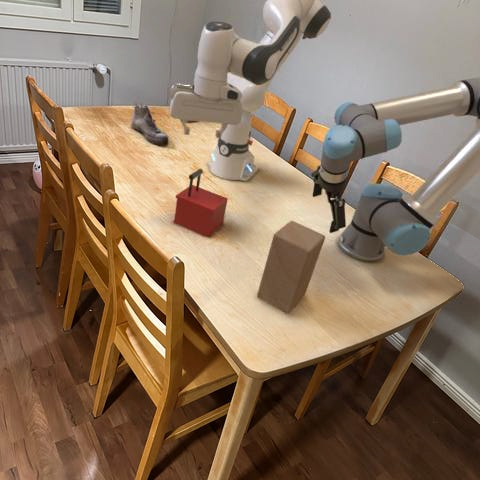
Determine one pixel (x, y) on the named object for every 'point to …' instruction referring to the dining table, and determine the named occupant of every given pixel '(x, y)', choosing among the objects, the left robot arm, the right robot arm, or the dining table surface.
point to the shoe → (147, 125)
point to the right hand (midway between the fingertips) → (325, 212)
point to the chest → (199, 218)
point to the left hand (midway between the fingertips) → (202, 135)
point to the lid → (201, 195)
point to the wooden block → (290, 265)
